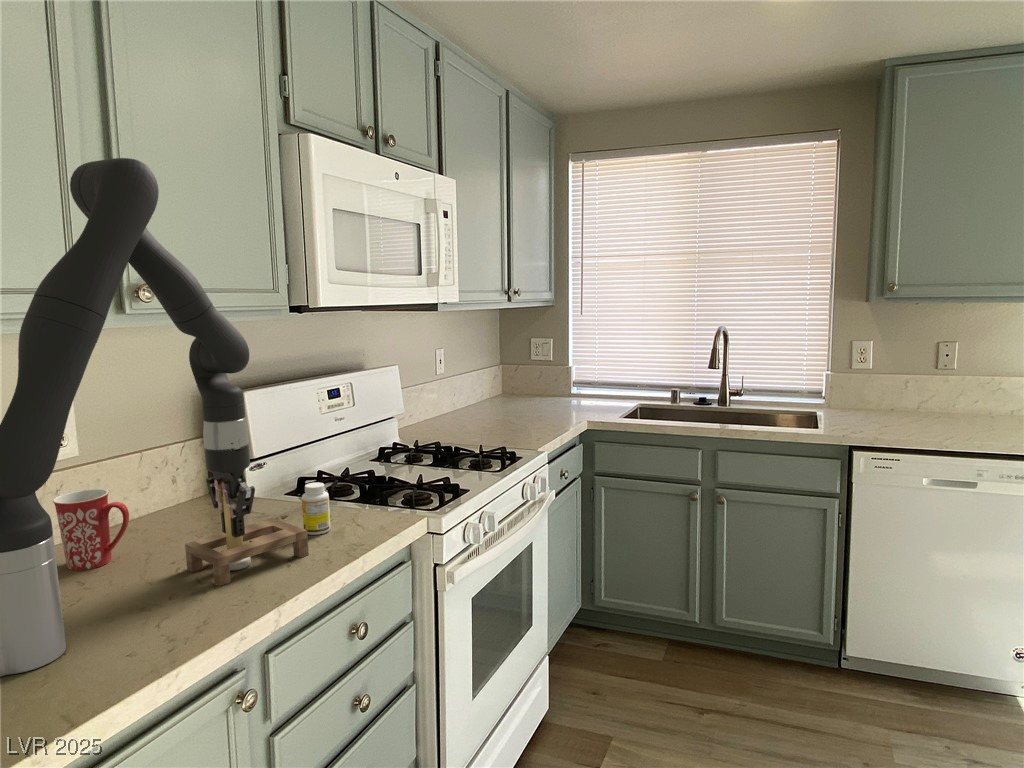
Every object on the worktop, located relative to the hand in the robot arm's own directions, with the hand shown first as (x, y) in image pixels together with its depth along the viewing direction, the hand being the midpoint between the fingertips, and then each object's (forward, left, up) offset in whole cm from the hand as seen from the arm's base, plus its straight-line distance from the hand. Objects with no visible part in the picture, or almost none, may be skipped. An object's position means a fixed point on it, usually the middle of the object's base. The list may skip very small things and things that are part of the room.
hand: (233, 533), depth 129 cm
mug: (-15, +23, -7) cm, 28 cm away
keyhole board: (+3, 0, -6) cm, 7 cm away
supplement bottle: (+21, +4, -7) cm, 22 cm away
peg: (0, 0, -6) cm, 6 cm away
